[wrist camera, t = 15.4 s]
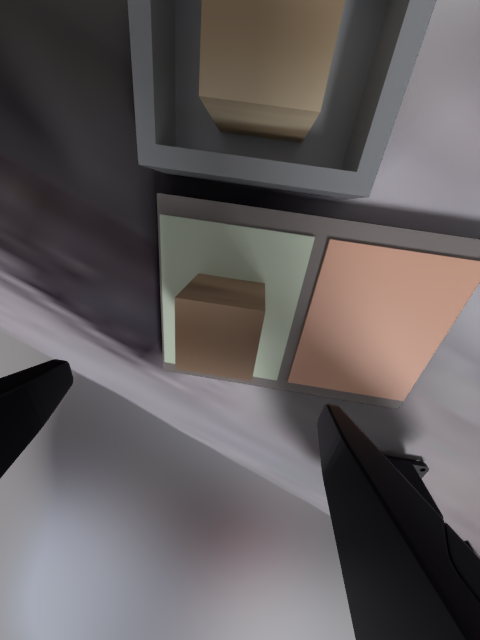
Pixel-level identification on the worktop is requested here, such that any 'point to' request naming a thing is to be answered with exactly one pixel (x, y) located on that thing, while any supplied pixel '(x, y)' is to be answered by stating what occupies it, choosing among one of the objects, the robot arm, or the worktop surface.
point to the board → (322, 293)
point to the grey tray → (262, 153)
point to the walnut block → (219, 326)
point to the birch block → (266, 64)
